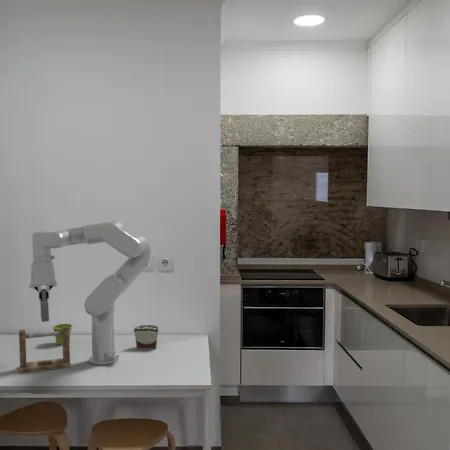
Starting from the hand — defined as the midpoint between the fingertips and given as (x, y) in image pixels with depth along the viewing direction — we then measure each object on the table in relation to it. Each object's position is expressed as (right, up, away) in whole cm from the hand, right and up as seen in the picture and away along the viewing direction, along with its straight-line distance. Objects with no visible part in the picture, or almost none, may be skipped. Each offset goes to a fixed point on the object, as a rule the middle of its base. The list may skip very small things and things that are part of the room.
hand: (44, 300), depth 236 cm
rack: (+3, -27, -8) cm, 29 cm away
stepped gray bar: (0, -9, +1) cm, 9 cm away
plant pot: (+1, -25, +25) cm, 36 cm away
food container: (+43, -25, +20) cm, 54 cm away
